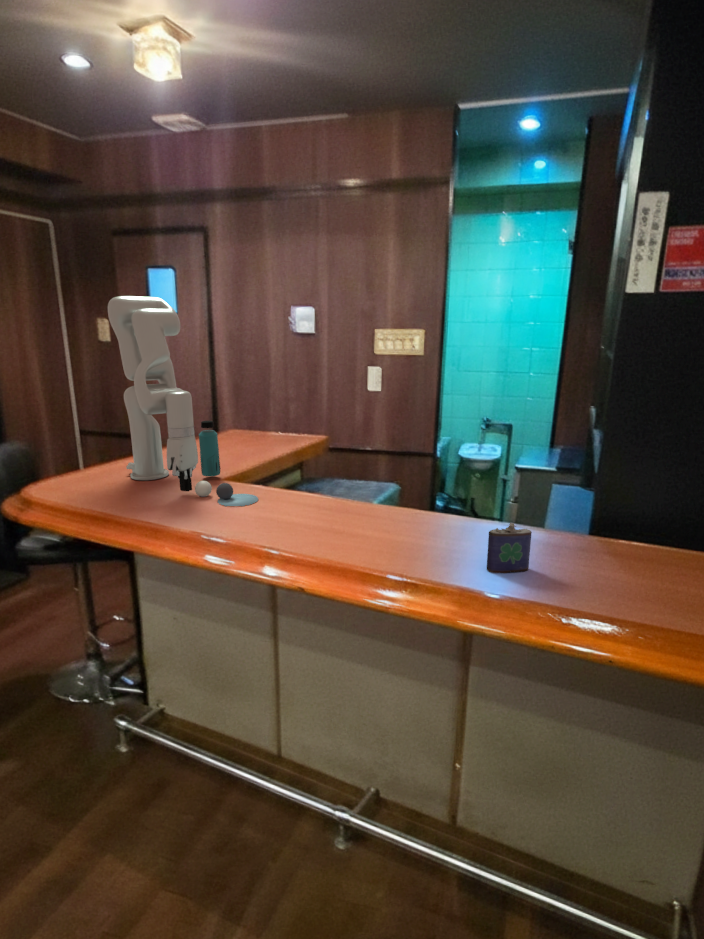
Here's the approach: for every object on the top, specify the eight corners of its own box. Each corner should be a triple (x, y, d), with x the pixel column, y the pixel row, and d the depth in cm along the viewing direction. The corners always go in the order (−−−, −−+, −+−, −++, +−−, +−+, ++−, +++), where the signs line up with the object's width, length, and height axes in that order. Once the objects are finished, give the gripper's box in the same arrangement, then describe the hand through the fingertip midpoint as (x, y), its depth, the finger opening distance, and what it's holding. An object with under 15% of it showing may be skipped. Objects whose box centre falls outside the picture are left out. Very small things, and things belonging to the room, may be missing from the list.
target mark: (209, 504, 157) (209, 503, 157) (230, 492, 169) (230, 492, 168) (246, 508, 154) (246, 507, 154) (265, 496, 165) (265, 495, 165)
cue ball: (194, 479, 162) (208, 486, 161) (203, 476, 166) (216, 483, 166) (189, 494, 163) (203, 501, 162) (198, 490, 168) (211, 497, 167)
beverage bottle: (218, 480, 182) (214, 422, 177) (198, 480, 182) (194, 422, 177) (223, 475, 188) (219, 419, 183) (204, 475, 188) (200, 419, 183)
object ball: (210, 489, 160) (222, 482, 158) (219, 484, 165) (231, 478, 163) (218, 504, 161) (230, 497, 159) (227, 499, 165) (239, 492, 163)
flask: (525, 566, 117) (529, 520, 114) (531, 572, 114) (535, 525, 111) (484, 568, 116) (487, 521, 113) (489, 574, 113) (492, 526, 111)
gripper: (185, 427, 169) (189, 482, 174) (154, 436, 156) (160, 496, 160) (205, 428, 167) (209, 484, 172) (177, 437, 153) (182, 498, 158)
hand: (186, 490), depth 166 cm, fingers closed
